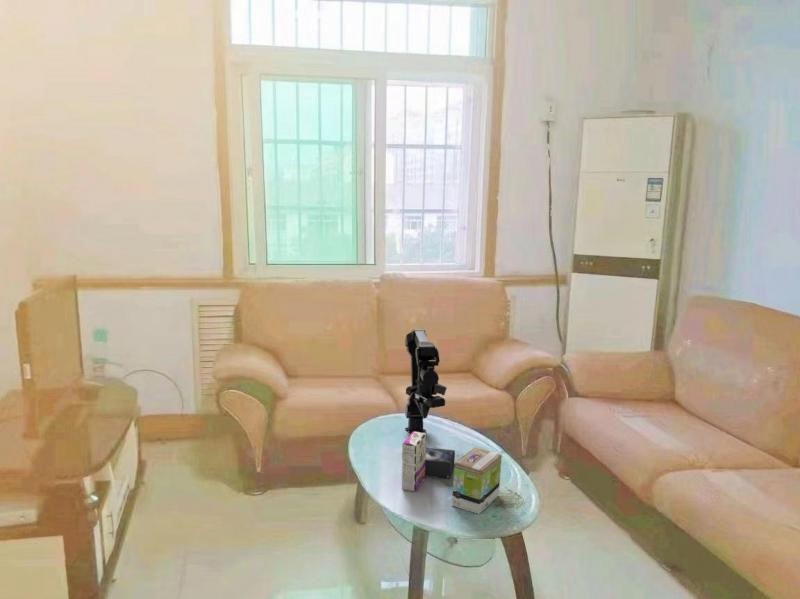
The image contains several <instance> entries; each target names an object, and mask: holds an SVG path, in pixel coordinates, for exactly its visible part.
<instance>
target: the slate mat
mask: <svg viewBox="0 0 800 599" xmlns="http://www.w3.org/2000/svg"><path fill="white" fill-rule="evenodd" d="M454 467H455V466H454ZM437 480H439V481H440V482H442V483H443V484H445V485H446V486H447V487H453V482H454V468H453V472H452V475H451V478H450V479H446V478H437Z"/></svg>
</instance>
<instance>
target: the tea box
mask: <svg viewBox="0 0 800 599" xmlns="http://www.w3.org/2000/svg"><path fill="white" fill-rule="evenodd" d="M502 457H503V456H502V454H500V453H498V452H494V451H489V450H486V449H482V448H480V447H476V446H475V447H473V448H472V449H471V450H470V451H468V452H467V453H466V454H464V455H463V456H462V457H460V458H459V459H458V460H456V461H455V463H454V464H455V467H454V482H453V485H452V500H451V506H453V507H455V508H458V509H461V510H463V511H467V512H470V511H471V512H470V513H473V512H474V513H473V514H476V513H477V515H480V514H481V513H482V512H483V511H484V510H485V509H486V508H488V507H489V505H490V504H492V503H493V501H494V500H496V499H497V498H498V497H499V495H500V483H501V473H502V472H501V471H502V470H501V469H502V468H501V467H502ZM497 496H498V497H497ZM495 498H496V499H495Z"/></svg>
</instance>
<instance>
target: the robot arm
mask: <svg viewBox="0 0 800 599" xmlns="http://www.w3.org/2000/svg"><path fill="white" fill-rule="evenodd" d="M427 337H428V335H427V333H426V329H423V328H414V329H412V330H411V331H410V332H409V333H408V334H406V336H405V339H404V346H405V347H406V352H407V353H408V355H409V357H410V381H411V382H410V385H409V386H407V387H406V389H405V395H406V396H408V398H407V403H406V404H405V408H404V415H405V417H406V418H405V419H408V420H407V421H408V423H407V424H408V425H407V426H408V427H407V426H406V427H405V428H404V430H405V429H406V430H405V431H407V430H408V431H409V433H410V434H412V432H413V431H416V432H421V433H426V432H427V430H426V429H425V428H424V419H427V418H428V415H429V412H430V410H431V408H432V409H435V408H440V407H445V406H446V399H445V398H444V397H442V396H445V394H446V391H447V389H448V387H447V386H445V385H443V384H440V383H439V379H440V377H439V375H438V373H437V371H436V369H435V366H436V367H438V366H440V365H439V363H440V354H439V350H438V347H436V345H435V344H434V343H433V342H430V341H429V339H428V338H427ZM437 394H438V395H437ZM440 395H442V396H440ZM408 431H407V432H408Z"/></svg>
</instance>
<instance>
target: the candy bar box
mask: <svg viewBox="0 0 800 599" xmlns="http://www.w3.org/2000/svg"><path fill="white" fill-rule="evenodd" d="M426 448H427V433H426V432H422V433H421V432H416V431H413V432H412V433H410V435H409V436H408V437H406V439H405V440H404V441H403V443H402V454H401V455H402V459H401V460H402V461H401V462H402V463H401V464H402V466H401V468H402V470H401V471H402V473H401V477H402V479H401V480H402V482H401V484H402V486H401V487H402V488H401V489H402V490H403V491H409V492H415V493H416V492H417V490H418V489H419V487H420V486H421V484H422V483H423V482H424V480H425V479H426V476H425V469H426Z"/></svg>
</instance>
